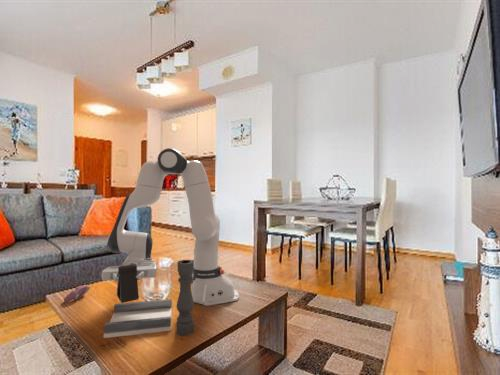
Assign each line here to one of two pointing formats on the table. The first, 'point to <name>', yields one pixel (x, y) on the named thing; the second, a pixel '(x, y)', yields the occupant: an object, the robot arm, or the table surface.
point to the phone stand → (127, 283)
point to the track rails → (140, 323)
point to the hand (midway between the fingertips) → (127, 278)
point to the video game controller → (76, 293)
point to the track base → (136, 316)
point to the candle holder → (185, 299)
